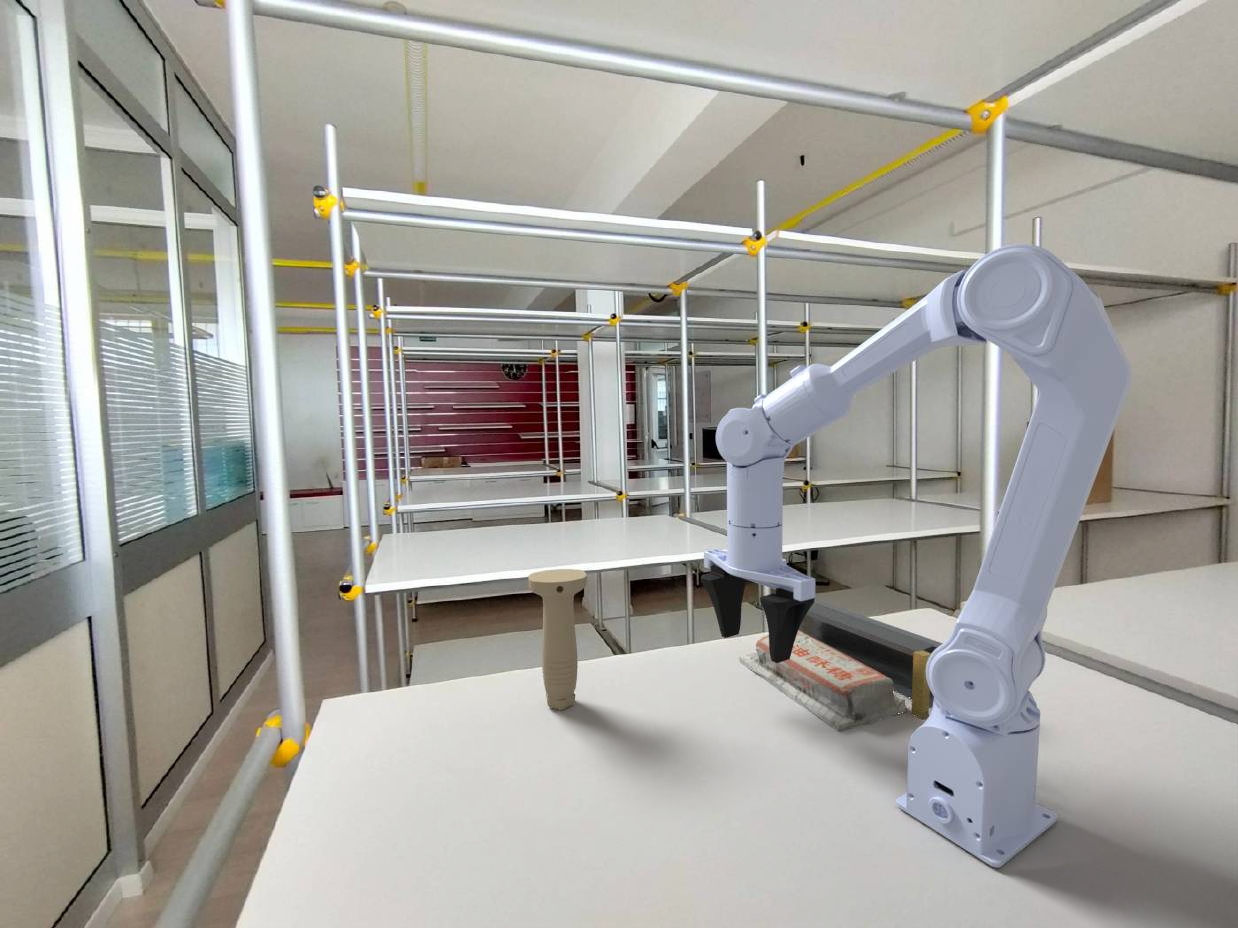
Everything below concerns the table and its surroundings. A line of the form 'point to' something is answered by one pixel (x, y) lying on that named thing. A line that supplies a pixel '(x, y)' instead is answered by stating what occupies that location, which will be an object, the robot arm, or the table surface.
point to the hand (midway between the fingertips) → (754, 646)
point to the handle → (559, 632)
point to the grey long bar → (877, 649)
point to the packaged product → (827, 683)
